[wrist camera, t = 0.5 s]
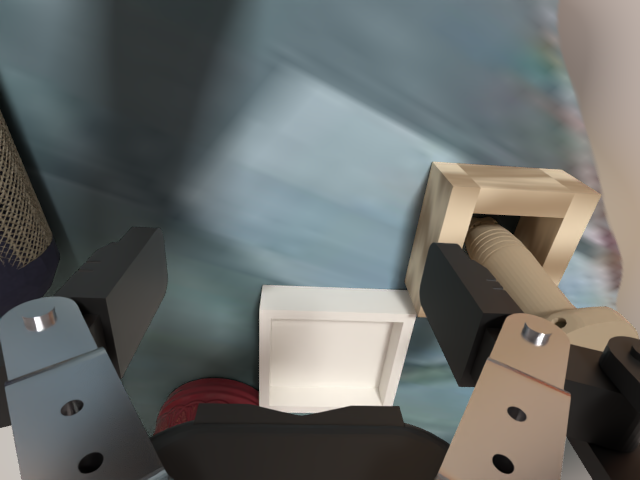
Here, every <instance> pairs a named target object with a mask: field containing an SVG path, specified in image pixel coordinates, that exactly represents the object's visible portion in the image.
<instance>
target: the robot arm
mask: <svg viewBox="0 0 640 480" xmlns="http://www.w3.org/2000/svg"><path fill="white" fill-rule="evenodd" d="M167 283H168V273H167V263H166V254H165V245H164V236H163V232H162V230H161V228H150V227H132V228H131V229H130V230H129V231H128V232H127V233H126V234H125V235H124V236H123V238H122V239H121V240H120V241H119V242H118V243H117V242H112V243H110V244H108V245H106V246H104V247H102V248H100V249H98V250H97V251H95V252H94V254H93V255H92V256H91V257H90V258H89V259H88V260H87V262H86V263H84V264H83V265H82V266H81V267H80V268H79V269H78V272H75V274H74V275H73V276H72V277H71V278H70V279H69V280H68V281H67V282H66V283H65V284H64V285H63V286H62V287H61V288H60V289H59V290H58V291H57V292H56V293H55V295H54V296H53V297H44V298H39V299H34V300H31V301H28V302H25V303H23V304H20V305H18V306H16V307H14V308H13V309H11V310H10V311H8V312H7V313H6V314H5V315H4V316H3V317H2V318H1V319H0V428H2V427H6V426H10V425H12V430H13V436H14V441H15V447H16V452H17V457H18V463H19V468H20V474H21V479H22V480H561V472H562V464H563V456H564V447H565V440H566V436H567V438H568V440H569V442H570V443H571V445H572V446H573V448H574V450H575V451H576V453H577V455H578V456H579V458H580V460H581V461H582V463H583V465H584V466H585V468H586V470H587V471H588V473H589V474H590V476H591V477H592V479H593V480H640V340H639V339H636V338H632V337H626V336H616V337H613V338H611V339H609V341H608V343H607V345H606V347H605V349H604V351H603V352H602V351H598V350H594V349H589V348H585V347H581V346H577V345H573V344H570V340H569V338H568V336H567V335H566V333H565V332H564V331H563V330H562V329H561V328H559V327H558V326H556V325H555V324H553V323H552V322H550V321H548V320H546V319H543V318H541V317H538V316H535V315H531V314H525V313H524V312H523V311H522V310H521V308H520V307H519V306H518V305H517V304H516V302H515V301H514V300H513V299H512V298H511V296H510V295H509V294H508V293H507V292H506V290H503V287H502V286H501V284H500V283H499V282H498V281H496V278H495V277H494V276H493V275H492V273H491V272H490V271H489V270H488V269H487V268H485V267H484V266H482V265H481V264H479V263H478V262H476V261H475V260H471V259H470V258H469V257H468V256H467V254H466V253H465V252H464V251H463V249H462V248H461V247H460V245H459V244H455V243H435V242H433V243H432V244H431V245H430V247H429V250H428V254H427V258H426V262H425V266H424V271H423V275H422V279H421V284H420V290H419V297H420V303H421V306H422V308H423V311H424V313H425V315H426V317H427V319H428V321H429V323H430V326H431V328H432V330H433V332H434V334H435V336H436V338H437V341H438V343H439V345H440V347H441V349H442V351H443V354H444V356H445V358H446V360H447V362H448V364H449V366H450V369H451V371H452V373H453V375H454V377H455V379H456V381H457V384H458V386H459V387H475V388H474V391H473V393H472V395H471V398H470V400H469V402H468V405H467V407H466V409H465V412H464V414H463V416H462V419H461V421H460V423H459V426H458V428H457V430H456V433H455V435H454V437H453V440H452V442H451V444H448V443H447V442H446V441H444V440H443V439H441V438H439V437H437V436H436V435H434V434H432V433H430V432H428V431H426V430H424V429H422V428H419V427H416V426H413V425H410V424H407V423H404V422H403V418H402V414H401V411H400V407H399V406H353V405H351V406H347V407H342V408H338V409H333V410H328V411H324V412H319V413H314V414H310V415H304V416H299V415H294V414H290V413H285V412H281V411H277V410H273V409H269V408H265V407H260V406H256V405H252V404H221V403H199V405H198V408H197V412H196V416H195V420H192V421H188V422H184V423H181V424H178V425H175V426H172V427H170V428H168V429H165V430H163V431H161V432H159V433H157V434H155V435H153V436H151V437H150V438H149V437H148V435H147V433H146V431H145V429H144V427H143V425H142V423H141V421H140V419H139V417H138V415H137V413H136V411H135V409H134V407H133V405H132V403H131V401H130V399H129V397H128V395H127V392H126V390H125V388H124V386H123V384H122V382H121V380H120V379H122V377H123V375H124V373H125V371H126V369H127V367H128V365H129V363H130V361H131V360H132V358H133V356H134V354H135V352H136V350H137V348H138V346H139V344H140V342H141V340H142V338H143V336H144V334H145V332H146V331H147V329H148V327H149V325H150V323H151V321H152V319H153V317H154V315H155V313H156V311H157V309H158V307H159V305H160V304H161V302H162V300H163V298H164V296H165V293H166V290H167Z"/></svg>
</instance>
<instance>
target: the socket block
mask: <svg viewBox="0 0 640 480" xmlns="http://www.w3.org/2000/svg"><path fill="white" fill-rule="evenodd" d="M600 197H601V194H599V193H598V192H596V191H595V190H593V189H591V188H590V187H588V186H587V185H585V184H583V183H582V182H580V181H579V180H577V179H575V178H574V177H572V176H571V175H569V174H567V173H566V172H564V171H563V170H555V169H540V168H524V167H508V166H492V165H476V164H460V163H444V162H432V166H431V170H430V174H429V179H428V183H427V187H426V191H425V196H424V200H423V204H422V209H421V213H420V217H419V221H418V226H417V230H416V234H415V239H414V243H413V247H412V251H411V256H410V260H409V264H408V269H407V273H406V277H405V281H404V282H405V284H406V287H407V290H408V292H409V295H410V298H411V300H412V303H413V306H414V308H415V311H416V313H417V316H418V317H426V315H425V313H424V311H423V308H422V306H421V303H420V297H419V290H420V284H421V279H422V275H423V271H424V266H425V262H426V258H427V254H428V250H429V247H430V245H431V244H432V243H433V242H435V243H455V244H459V245H460V247H461V248H462V247H463V244H464V241H465V237H466V234H467V231H468V228H469V224H470V221H471V218H472V215H473V213H478V214H497V215H516V216H521V217H520V219H519V222H518V225H517V227H516V230H515V232H514V236H515V237H516V238H517V239H519V240H520V241H521V242H522V244H523V245H524V246H525V247H526V248H527V249H528V250H529V251H530V252H531V253H532V255H533V256H534V257H535V259H536V260H537V261H538V262H539V264H540V265H541V266H542V268H543V269H544V270H545V271H546V273H547V274H548V275H549V277H550V278H551V279H552V281H553V282H554V283H555V284H556V285H557V286H558V284H559V282H560V280H561V278H562V276H563V274H564V272H565V270H566V268H567V265H568V263H569V261H570V259H571V257H572V255H573V253H574V251H575V249H576V247H577V245H578V243H579V240H580V238H581V236H582V234H583V232H584V230H585V228H586V226H587V224H588V222H589V220H590V218H591V215H592V213H593V211H594V209H595V207H596V205H597V203H598V201H599V199H600Z"/></svg>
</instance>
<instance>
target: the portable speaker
mask: <svg viewBox="0 0 640 480" xmlns="http://www.w3.org/2000/svg"><path fill="white" fill-rule="evenodd" d="M1 141H2V142H1ZM8 151H9V152H8ZM19 179H20V180H19ZM19 182H20V183H19ZM22 185H23V186H22ZM35 219H36V220H35ZM59 260H60V253H59V250H58V248H57V245H56V243H55V240H54V238H53V235H52V232H51V230H50V227H49V225H48V223H47V221H46V218H45V216H44V213H43V211H42V208H41V206H40V204H39V201H38V199H37V196H36V194H35V192H34V189H33V187H32V184H31V182H30V180H29V177H28V175H27V172H26V170H25V168H24V165H23V163H22V160H21V158H20V156H19V153H18V151H17V149H16V146H15V144H14V141H13V139H12V137H11V134H10V132H9V130H8V127H7V125H6V123H5V120H4V118H3V115H2V113H1V111H0V319H1V318H2V317H3V316H4V315H5V314H6V313H7V312H8V311H10V310H11V309H13V308H14V307H16V306H18V305H20V304H23V303H25V302H28V301H31V300H34V299H39V298H41V297H42V296H43V295H44V294H45V293H46V291H47V290H48V289H49V288H50V286H51V285H52V282H53V278H54V275H55V272H56V269H57V266H58V263H59Z"/></svg>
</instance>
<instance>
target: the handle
mask: <svg viewBox="0 0 640 480" xmlns="http://www.w3.org/2000/svg"><path fill="white" fill-rule="evenodd" d="M464 243H465V245H466V249H467V252H468V255H469V257H470V259H471V260H475V261H476V262H478V263H479V264H481V265H482V266H484V267H485V268H487V269H488V270H489V271H490V272H491V273H492V275H493V276H494V277H495V278H496V281H498V282H499V283H500V284H501V286H502V287H503V290H506V292H507V293H508V294H509V295H510V296H511V298H512V299H513V300H514V301H515V302H516V304H517V305H518V306H519V307H520V308H521V310H522V311H523V312H524V313H525V314H531V315H535V316H538V317H541V318H543V319H546V320H548V321H550V322H552V323H553V324H555V325H556V326H558V327H559V328H561V329H562V330H563V331H564V332H565V333H566V335H567V336H568V338H569V340H570V344H573V345H577V346H581V347H585V348H589V349H594V350H598V351H602V352H603V351H604V349H605V347H606V345H607V343H608V341H609V339H611V338H613V337H616V336H626V337H632V338H636V339H639V337H638V333H637V331H636V329H635V328H634V327H633V326H632V325H631V324H630V323H629V322H628V321H627V320H626V319H625V318H624V317H623V316H622V315H621V314H620V313H618V312H617V311H615V310H613V309H611V308H609V307H606V306H605V307H588V308H579V309H577V308H576V307H575V306H573V305H572V304H571V303H570V301H569V300H568V299H567V298H566V296H565V295H564V294H563V293H562V292H561V290H560V289H559V288H558V287H557V285H556V284H555V283H554V282H553V281H552V279H551V278H550V277H549V275H548V274H547V273H546V271H545V270H544V269H543V268H542V266H541V265H540V264H539V262H538V261H537V260H536V259H535V257H534V256H533V255H532V253H531V252H530V251H529V250H528V249H527V248H526V247H525V246H524V245H523V244H522V242H521V241H520V240H519V239H517V238H516V237H515V236H514V235H513V234H512V233H510V232H509V231H508V230H506V229H505V228H503V227H502V226H500V225H498V222H497V221H496V220H494V219H493V218H491V217H489V216H487V217H484V218H476V217H473V218H471V221H470V224H469V228H468V231H467V234H466V237H465V241H464Z"/></svg>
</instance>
